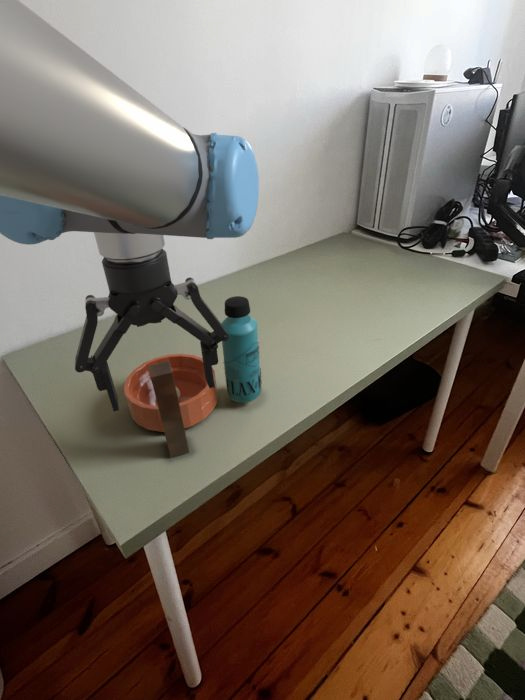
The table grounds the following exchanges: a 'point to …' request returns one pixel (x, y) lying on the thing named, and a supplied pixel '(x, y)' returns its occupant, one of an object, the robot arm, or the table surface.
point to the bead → (178, 393)
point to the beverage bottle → (241, 351)
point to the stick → (169, 408)
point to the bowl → (188, 380)
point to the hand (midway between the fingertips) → (164, 393)
